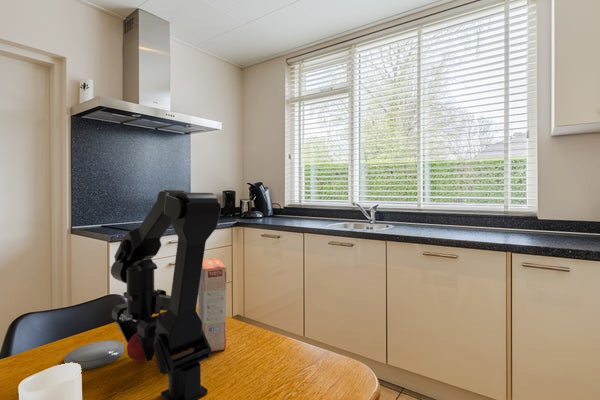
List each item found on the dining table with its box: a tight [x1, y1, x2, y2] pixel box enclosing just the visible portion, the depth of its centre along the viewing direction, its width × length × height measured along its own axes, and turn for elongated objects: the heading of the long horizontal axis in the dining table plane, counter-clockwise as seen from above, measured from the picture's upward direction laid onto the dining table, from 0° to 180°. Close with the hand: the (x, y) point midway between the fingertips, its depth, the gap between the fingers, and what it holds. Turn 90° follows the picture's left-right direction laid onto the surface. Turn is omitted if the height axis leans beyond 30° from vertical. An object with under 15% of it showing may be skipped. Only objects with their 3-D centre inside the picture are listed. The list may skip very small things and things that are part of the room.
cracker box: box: [197, 257, 227, 353], centre depth 85 cm, size 14×6×21 cm, turn 22°
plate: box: [63, 340, 125, 371], centre depth 76 cm, size 12×12×2 cm
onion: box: [126, 332, 146, 363], centre depth 74 cm, size 6×6×8 cm
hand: (141, 354), depth 74 cm, fingers open, 8 cm apart
